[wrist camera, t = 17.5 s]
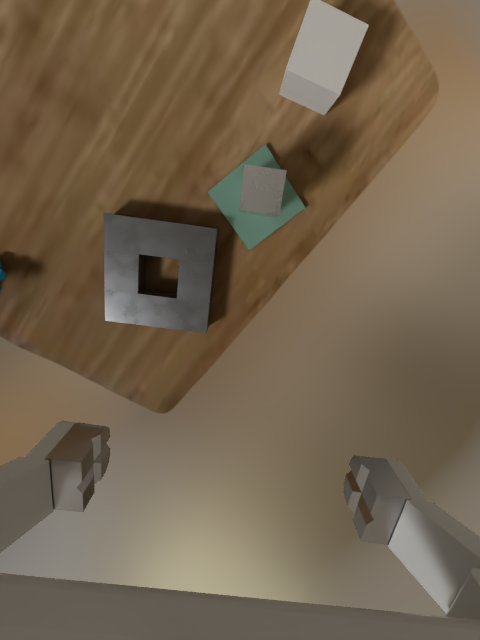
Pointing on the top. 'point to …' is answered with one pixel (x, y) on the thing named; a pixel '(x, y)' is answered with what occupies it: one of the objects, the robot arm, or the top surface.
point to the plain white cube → (322, 56)
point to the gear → (2, 274)
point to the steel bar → (262, 191)
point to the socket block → (130, 267)
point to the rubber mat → (250, 225)
